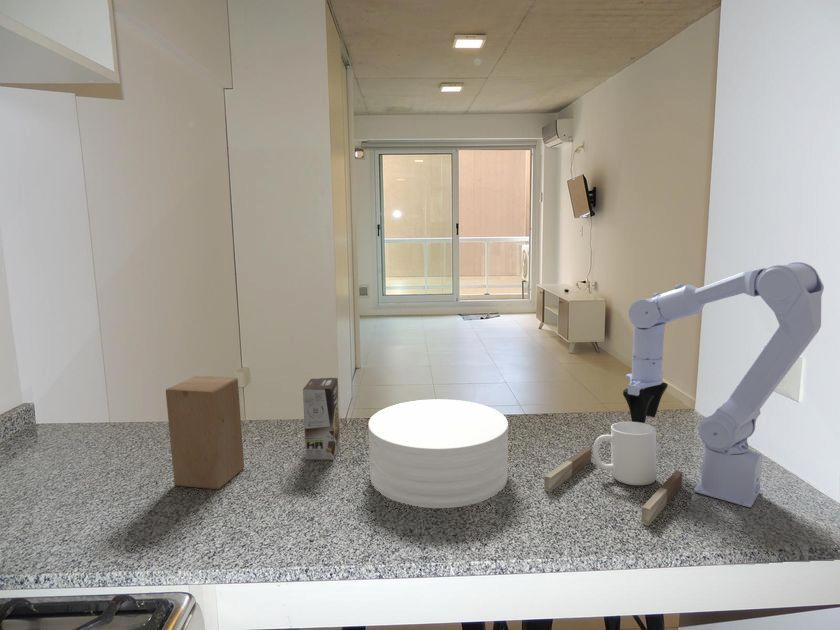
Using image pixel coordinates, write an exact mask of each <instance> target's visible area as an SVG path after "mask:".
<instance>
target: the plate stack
mask: <svg viewBox="0 0 840 630" xmlns="http://www.w3.org/2000/svg"><path fill="white" fill-rule="evenodd" d="M508 432H509V422H508V419H507V417H506V416H505V415H504V414H503V413H501V412H500V411H498V410H497V409H495V408H494V407H491V406H487V405H485V404H481V403H479V402H472V401H468V400H459V399H450V398H449V399H446V398H445V399H443V398H439V399H438V398H434V399H433V398H432V399H430V398H429V399H419V400H411V401H406V402H400V403H397V404H394V405H393V404H392V405H390V406H387V407H385V408H383V409H381V410H379V411H376V413H374V414H373V415H371V417H370V418H369V420H368V433H369V434H368V445H369V446H368V454H369V480H371V481H370V484H371V483H372V484H371V485H372V487H373V486H374V487H373V488H374V489H375V491H377V492H378V491H379V492H380V493H381V494H380V493H379V492H378V493H379V494H380V495H382V496H383V495H384V497H385V496H386V498H387V497H388V498H387V499H389V498H390V499H389V500H391V499H393V500H392V501H394V500H396V501H397V503H399V502H401V503H400V504H403V503H405V504H404V505H407V504H409V505H408V506H411V505H412V507H417V506H418V508H427V509H428V508H430V509H446V508H447V509H452V508H460V507H461V508H462V507H465V506H471V505H474V504H479V503H481V502H484V501H487V500H488V498H489V499H490V497H491V498H493V497H494V496H495V494H496V495H497V494H499V493H500V492H501V491H502V490H503V489H504V488H505V486H506V485H507V483H508V480H509V479H508V477H509V475H508V474H509V473H508V465H509V460H508V455H509V447H508V446H509V445H508V444H509V434H508ZM499 491H500V492H499ZM498 492H499V493H498ZM492 496H493V497H492ZM396 501H395V502H396Z"/></svg>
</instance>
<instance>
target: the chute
mask: <svg viewBox="0 0 840 630" xmlns="http://www.w3.org/2000/svg"><path fill="white" fill-rule="evenodd" d="M592 453H593V448H592V447H589V446H585V447H583V449H580V451H578V452H577V453H575V454H573V456H571V457H569V458H567V460H565V461H564V462H562V463H561V464H560V465H558V466H557V467H555V468H554V469H553V470H551V471H549V472H548V473H547V474H546V475H544V490H546V491H545V492H547V491H549V492H548V493H552V492H553V491H554V490H556V489H557V488H558V487H559V486H558V485H560V484H561V483H562V484H564V483H565V482H566V481H567V480H568V478H569V477H570V478H571V477H573V476H574V475H575V474H576V472H577V471H578V472H579V471H580V470H582V469H583V468H584V467H586V466H587V465H589V464H590V463H591V462H592ZM589 462H590V463H589ZM585 465H586V466H585ZM581 468H582V469H581ZM578 472H577V473H578ZM683 473H684V472H683V471H679V470H675V471H674V472H673V473H672V474H671V475H670V476H669V477H668V479H666V481H665V482H664V483H663V484H662V485H661V486H660V487H659V489H657V490H656V491H655V492H654V493H653V494H652V496H651V497H650V498H649V499H648V500H647V501H646V502H645V503H644V504H643V505H642V507H641V516H640V517H641V520H640V521H641V522H640V524H641V525H645V526H646V527H647V526H648V527H649V526H650V525H651V524H652V523H653V521H654V520H655V519H656V518H657V516H659V514H660V513H661V512H662V511H663V509H664V508H665V507H666V506H667V505H668V504H669V503H670V501H672V499H673V498H674V497H675V496H676V494H677V493H678V492H679V491H680V490H681V489H682V488H683V475H684V474H683ZM573 474H574V475H573ZM572 475H573V476H572ZM570 478H569V479H570ZM564 481H565V482H564ZM562 484H561V485H562ZM561 485H560V486H561ZM557 486H558V487H557ZM556 487H557V488H556ZM555 488H556V489H555ZM553 489H554V490H553ZM544 490H543V491H544ZM552 490H553V491H552ZM551 491H552V492H551Z"/></svg>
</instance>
